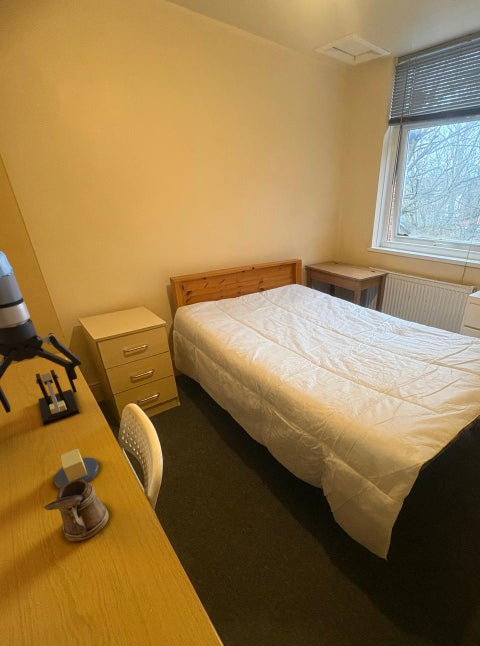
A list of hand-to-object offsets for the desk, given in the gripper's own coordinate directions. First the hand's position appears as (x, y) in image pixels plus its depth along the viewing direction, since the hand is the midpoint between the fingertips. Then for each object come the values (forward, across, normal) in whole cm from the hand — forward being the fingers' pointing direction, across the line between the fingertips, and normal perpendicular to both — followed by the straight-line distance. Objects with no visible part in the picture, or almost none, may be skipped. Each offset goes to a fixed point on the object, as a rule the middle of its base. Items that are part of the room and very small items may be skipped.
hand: (43, 399), depth 81 cm
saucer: (+22, -1, +7) cm, 23 cm away
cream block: (+20, -1, -25) cm, 32 cm away
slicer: (+22, -1, -31) cm, 38 cm away
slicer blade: (+15, -1, -26) cm, 30 cm away
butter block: (+20, -1, +7) cm, 22 cm away
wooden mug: (+21, 0, +27) cm, 35 cm away
